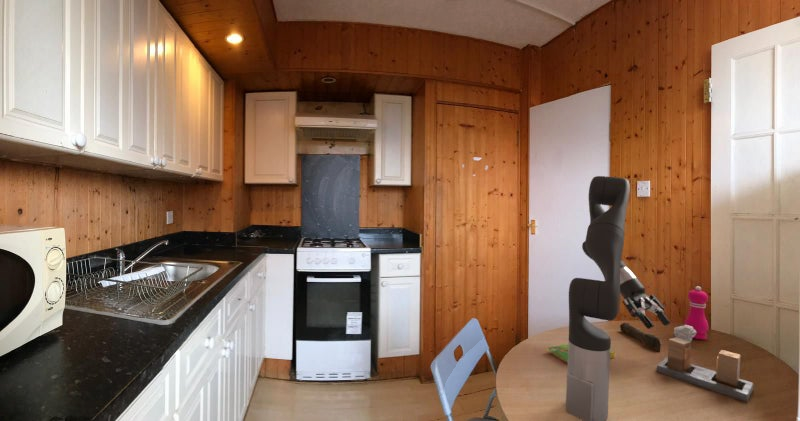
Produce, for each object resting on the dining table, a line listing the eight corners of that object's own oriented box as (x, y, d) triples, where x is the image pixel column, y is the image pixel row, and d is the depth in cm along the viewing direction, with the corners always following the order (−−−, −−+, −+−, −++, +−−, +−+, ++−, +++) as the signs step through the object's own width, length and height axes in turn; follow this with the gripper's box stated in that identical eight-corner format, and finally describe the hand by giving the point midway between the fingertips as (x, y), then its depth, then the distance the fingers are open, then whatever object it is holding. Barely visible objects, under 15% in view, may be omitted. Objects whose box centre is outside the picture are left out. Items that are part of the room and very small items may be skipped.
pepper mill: (699, 341, 132) (701, 289, 131) (679, 333, 139) (681, 284, 138) (712, 339, 134) (715, 288, 133) (692, 332, 141) (695, 283, 140)
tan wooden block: (683, 377, 104) (684, 344, 104) (667, 370, 108) (668, 339, 108) (691, 374, 106) (692, 342, 106) (674, 368, 110) (676, 337, 110)
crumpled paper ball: (690, 348, 126) (691, 329, 125) (669, 340, 132) (669, 322, 132) (699, 345, 128) (700, 326, 128) (678, 338, 134) (679, 320, 134)
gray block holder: (752, 389, 98) (754, 355, 98) (746, 402, 92) (748, 365, 92) (666, 362, 114) (668, 332, 113) (656, 371, 108) (658, 339, 107)
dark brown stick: (619, 331, 141) (619, 320, 141) (629, 332, 141) (629, 320, 140) (651, 352, 122) (652, 339, 122) (663, 353, 122) (663, 340, 122)
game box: (614, 361, 117) (567, 366, 110) (589, 349, 126) (544, 353, 119) (615, 352, 117) (567, 357, 110) (590, 340, 126) (545, 345, 119)
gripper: (620, 278, 117) (654, 323, 107) (647, 275, 123) (682, 318, 113) (605, 290, 122) (636, 334, 112) (631, 286, 128) (664, 328, 118)
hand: (659, 326), depth 112 cm, fingers open, 8 cm apart
